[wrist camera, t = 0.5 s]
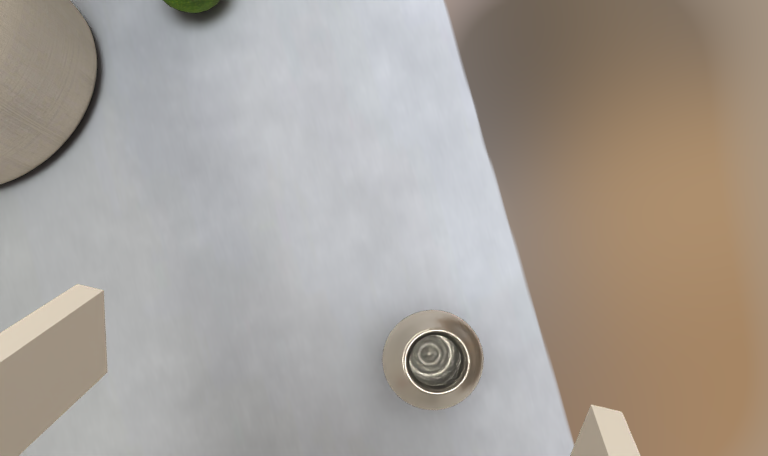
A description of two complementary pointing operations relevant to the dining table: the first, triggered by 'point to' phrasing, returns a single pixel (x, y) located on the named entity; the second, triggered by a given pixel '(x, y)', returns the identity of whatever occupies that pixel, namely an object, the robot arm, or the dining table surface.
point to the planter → (41, 80)
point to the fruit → (192, 5)
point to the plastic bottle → (433, 360)
